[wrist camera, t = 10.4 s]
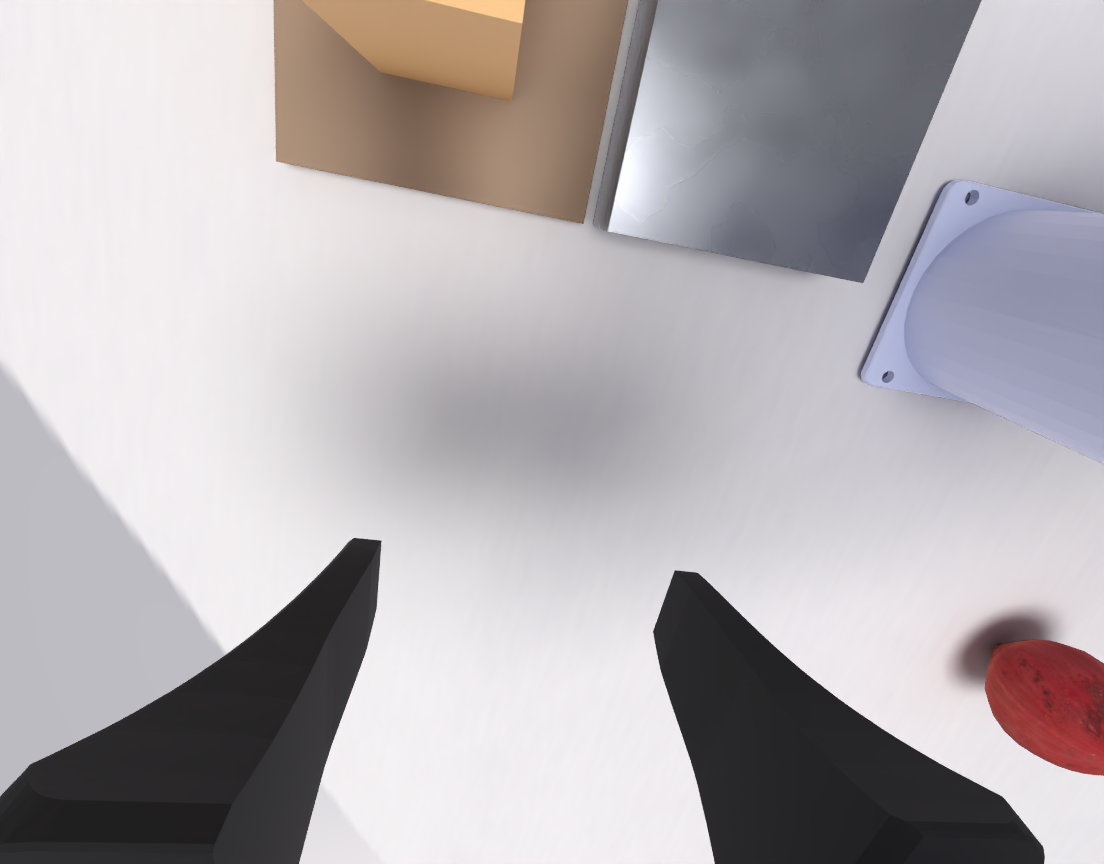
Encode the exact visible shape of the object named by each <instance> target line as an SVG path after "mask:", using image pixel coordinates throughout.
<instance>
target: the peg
mask: <svg viewBox="0 0 1104 864" xmlns="http://www.w3.org/2000/svg"><path fill="white" fill-rule="evenodd" d="M302 1H303V2H304V3H306V4H307V5H308V6H309V7H310V8H311V9H312V10H313V11H314V12H315V13H316V14H318V15H319V16H320V17H321V18H322V19H323V20H324V21H325V22H326V23H327V24H328V25H330V26H331V27H332V28H333V29H334V30H335V31H336V32H337V33H338V34H339V35H340V36H341V37H343V38H344V39H345V40H346V41H347V42H348V43H349V44H350V45H351V46H352V47H353V48H355V49H356V50H357V51H358V52H359V53H360V54H361V55H362V56H363V57H364V58H365V59H367V60H368V61H369V62H370V63H371V64H372V65H373V66H374V67H375V68H376V69H377V70H379V71H380V72H381V73H386V74H390V75H395V76H399V77H404V78H409V79H413V80H418V81H422V82H427V83H431V84H436V85H441V86H445V87H450V88H454V89H459V90H463V91H468V92H472V93H477V94H482V95H486V96H491V97H495V98H500V99H504V100H509V101H512V98H513V90H514V83H515V75H516V68H517V60H518V53H519V45H520V38H521V30H522V23H523V15H524V7H525V0H302Z"/></svg>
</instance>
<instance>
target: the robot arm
mask: <svg viewBox="0 0 1104 864" xmlns="http://www.w3.org/2000/svg"><path fill="white" fill-rule="evenodd" d="M969 192H970V193H971V196H970V200H969V201H968V202H967V203H966V202H965V198H966V195H967V194H968V193H969ZM887 371H888V375H887V376H886V378H884V379H882V376H883V374H884V373H885V372H887ZM861 379H862V380H863V382H865V383H867V384H868V385H871V386H876V387H881V388H887V389H893V390H899V391H905V392H911V393H917V394H923V395H929V396H935V397H941V398H947V399H952V400H958V401H964V402H970V403H973V404H975V405H977V406H979V407H982V408H984V409H986V410H988V411H990V412H992V413H994V414H997V415H999V416H1001V417H1003V418H1005V419H1007V420H1009V421H1012V422H1014V423H1016V424H1018V425H1020V426H1022V427H1024V428H1027V429H1029V430H1031V431H1033V432H1035V433H1037V434H1039V435H1042V436H1044V437H1046V438H1048V439H1050V440H1052V441H1054V442H1057V443H1059V444H1061V445H1063V446H1065V447H1067V448H1069V449H1072V450H1074V451H1076V452H1078V453H1080V454H1082V455H1084V456H1087V457H1089V458H1091V459H1093V460H1095V461H1097V462H1099V463H1102V464H1104V214H1103V213H1099V212H1095V211H1090V210H1086V209H1082V208H1078V207H1074V206H1070V205H1066V204H1062V203H1058V202H1054V201H1050V200H1046V199H1041V198H1037V197H1033V196H1029V195H1025V194H1021V193H1017V192H1013V191H1009V190H1005V189H1001V188H997V187H992V186H988V185H984V184H980V183H976V182H972V181H968V180H954V181H952V182H950V183H948V184H947V185H946V186H945V187H944V189H943V190H942V192H941V194H940V197H939V199H938V201H937V203H936V206H935V208H934V210H933V212H932V215H931V217H930V219H929V221H928V223H927V226H926V228H925V230H924V232H923V235H922V237H921V239H920V241H919V244H918V246H917V248H916V250H915V253H914V255H913V257H912V259H911V262H910V264H909V266H908V268H907V271H906V273H905V275H904V277H903V279H902V282H901V284H900V286H899V288H898V291H897V293H896V295H895V297H894V300H893V302H892V304H891V306H890V309H889V311H888V313H887V315H886V318H885V320H884V322H883V324H882V327H881V329H880V331H879V333H878V335H877V338H876V340H875V342H874V344H873V347H872V349H871V351H870V353H869V356H868V358H867V360H866V362H865V365H864V367H863V369H862V372H861ZM380 554H381V541H379V540H369V539H359V538H354V539H352V540H351V541H349V542H348V543H347V545H346V546H345V547H344V548H343V549H342V550H341V552H340V553H339V554H338V555H337V556H336V557H335V558H334V559H333V561H332V562H331V563H330V564H329V565H328V566H327V567H326V568H325V569H324V570H323V571H322V572H321V573H320V574H319V575H318V576H317V577H316V578H315V579H314V580H313V581H312V582H311V583H310V584H309V585H308V586H307V587H306V588H305V589H304V590H303V591H302V592H301V593H300V594H299V595H298V596H297V597H296V598H295V599H294V600H292V601H291V602H290V603H289V604H288V605H287V606H286V607H285V608H283V609H282V610H281V611H280V612H279V613H278V614H277V615H275V616H274V617H273V618H272V619H271V620H270V621H269V622H267V623H266V624H265V625H264V626H263V627H261V628H260V629H259V630H258V631H256V632H255V633H254V634H253V635H251V636H250V637H249V638H248V639H246V640H245V641H244V642H242V643H241V644H240V645H238V646H237V647H236V648H234V649H233V650H232V651H230V652H229V653H228V654H226V655H225V656H223V657H222V658H221V659H219V660H218V661H216V662H215V663H213V664H212V665H211V666H209V667H208V668H206V669H205V670H203V671H202V672H200V673H199V674H197V675H196V676H194V677H193V678H191V679H190V680H188V681H187V682H185V683H183V684H182V685H180V686H179V687H177V688H175V689H174V690H172V691H171V692H169V693H167V694H165V695H164V696H162V697H160V698H159V699H157V700H155V701H153V702H152V703H150V704H148V705H146V706H145V707H143V708H141V709H140V710H138V711H136V712H135V713H133V714H131V715H129V716H127V717H125V718H123V719H122V720H120V721H118V722H116V723H114V724H112V725H110V726H108V727H107V728H105V729H103V730H101V731H99V732H97V733H95V734H92V735H90V736H88V737H86V738H84V739H82V740H80V741H78V742H76V743H74V744H72V745H70V746H68V747H66V748H64V749H62V750H60V751H58V752H56V753H54V754H52V755H50V756H48V757H45V758H43V759H41V760H39V761H37V762H34V763H32V764H31V765H29V767H28V768H27V769H26V770H25V771H24V772H23V773H22V774H21V776H19V777H18V778H17V780H16V781H15V782H14V783H13V784H12V785H11V786H10V787H9V788H8V789H7V790H6V791H5V792H4V793H3V794H2V795H1V796H0V864H299V861H300V857H301V854H302V850H303V846H304V842H305V838H306V834H307V830H308V827H309V823H310V819H311V815H312V811H313V808H314V804H315V800H316V796H317V793H318V789H319V785H320V782H321V778H322V774H323V771H324V767H325V764H326V761H327V758H328V755H329V752H330V748H331V745H332V743H333V740H334V737H335V734H336V732H337V729H338V726H339V723H340V721H341V718H342V715H343V713H344V710H345V707H346V704H347V702H348V699H349V696H350V694H351V691H352V688H353V685H354V683H355V680H356V677H357V674H358V672H359V669H360V666H361V663H362V661H363V658H364V655H365V652H366V649H367V645H368V641H369V637H370V633H371V629H372V625H373V621H374V617H375V613H376V607H377V594H378V581H379V567H380ZM653 633H654V638H655V644H656V650H657V655H658V660H659V664H660V669H661V673H662V676H663V679H664V682H665V685H666V688H667V691H668V694H669V697H670V701H671V704H672V707H673V709H674V712H675V715H676V718H677V721H678V724H679V727H680V730H681V733H682V736H683V739H684V742H685V745H686V748H687V751H688V754H689V757H690V760H691V763H692V767H693V770H694V773H695V777H696V780H697V784H698V789H699V793H700V797H701V801H702V806H703V810H704V814H705V819H706V823H707V827H708V832H709V837H710V842H711V847H712V851H713V856H714V861H715V864H1044V859H1045V856H1044V849H1043V846H1042V845H1041V844H1040V842H1039V841H1038V840H1037V839H1036V837H1035V836H1034V835H1033V834H1032V832H1031V831H1030V830H1029V829H1028V827H1027V826H1026V825H1025V824H1024V822H1023V821H1022V820H1021V819H1020V817H1019V816H1018V815H1017V814H1016V813H1015V811H1014V810H1013V809H1012V808H1011V806H1010V805H1009V804H1008V803H1007V801H1006V800H1005V799H1004V798H1003V797H1002V796H1000V795H998V794H996V793H994V792H992V791H990V790H988V789H987V788H985V787H983V786H981V785H979V784H977V783H975V782H973V781H971V780H969V779H967V778H966V777H964V776H962V775H960V774H958V773H956V772H954V771H952V770H950V769H948V768H947V767H945V766H943V765H941V764H939V763H938V762H936V761H934V760H932V759H931V758H929V757H927V756H926V755H924V754H922V753H921V752H919V751H917V750H915V749H914V748H912V747H910V746H909V745H907V744H905V743H904V742H902V741H900V740H899V739H897V738H896V737H894V736H892V735H891V734H889V733H888V732H886V731H885V730H883V729H881V728H880V727H879V726H877V725H876V724H874V723H873V722H871V721H870V720H868V719H867V718H865V717H864V716H862V715H861V714H859V713H858V712H856V711H855V710H853V709H852V708H851V707H849V706H848V705H846V704H845V703H844V702H842V701H841V700H839V699H838V698H837V697H835V696H834V695H833V694H832V693H830V692H829V691H828V690H826V689H825V688H824V687H822V686H821V685H820V684H819V683H817V682H816V681H815V680H813V679H812V678H811V677H810V676H808V675H807V674H806V673H805V672H803V671H802V670H801V669H800V668H799V667H797V666H796V665H795V664H794V663H793V662H792V661H791V660H789V659H788V658H787V657H786V656H785V655H784V654H783V653H781V652H780V651H779V650H778V649H777V648H776V647H775V646H774V645H772V644H771V643H770V642H769V641H768V640H767V639H766V638H765V637H764V636H763V635H762V634H761V633H760V632H758V631H757V630H756V629H755V628H754V627H753V626H752V625H751V624H750V623H749V622H748V621H747V620H746V619H745V618H744V617H743V616H742V615H741V614H740V613H739V612H738V611H737V610H736V609H735V608H734V607H733V606H732V605H731V604H730V603H729V602H728V601H727V600H726V599H725V598H724V597H723V596H722V595H721V594H720V593H719V592H718V591H717V590H716V589H714V588H713V587H712V586H711V585H710V584H709V583H708V582H707V581H706V580H705V579H704V578H703V577H702V576H701V575H699V574H698V573H695V572H685V571H674V574H673V577H672V580H671V583H670V586H669V588H668V591H667V594H666V597H665V600H664V602H663V605H662V608H661V611H660V614H659V617H658V619H657V622H656V625H655V628H654V631H653Z"/></svg>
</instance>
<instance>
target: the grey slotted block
mask: <svg viewBox="0 0 1104 864" xmlns="http://www.w3.org/2000/svg"><path fill="white" fill-rule="evenodd" d="M980 2H981V0H640V1H639V5H638V10H637V15H636V20H635V25H634V29H633V34H632V39H631V44H630V49H629V53H628V58H627V63H626V68H625V73H624V77H623V82H622V87H621V92H620V97H619V101H618V106H617V111H616V116H615V121H614V125H613V130H612V135H611V140H610V145H609V149H608V154H607V159H606V164H605V169H604V173H603V178H602V183H601V188H600V193H599V197H598V202H597V207H596V212H595V217H594V221H593V225H595V226H597V227H599V228H601V229H604V230H606V231H608V232H613V233H618V234H623V235H628V236H633V237H638V238H643V239H648V240H653V241H658V242H663V243H668V244H673V245H678V246H683V247H687V248H692V249H697V250H702V251H707V252H712V253H717V254H722V255H727V256H732V257H737V258H742V259H747V260H752V261H757V262H762V263H766V264H771V265H776V266H781V267H786V268H791V269H796V270H801V271H806V272H811V273H816V274H821V275H826V276H831V277H836V278H841V279H846V280H850V281H855V282H860V283H863V282H864V280H865V277H866V275H867V273H868V270H869V268H870V265H871V263H872V261H873V258H874V256H875V253H876V251H877V249H878V246H879V244H880V242H881V239H882V237H883V234H884V232H885V230H886V227H887V225H888V222H889V220H890V218H891V215H892V213H893V210H894V208H895V206H896V203H897V201H898V199H899V196H900V194H901V191H902V189H903V187H904V184H905V182H906V179H907V177H908V175H909V172H910V170H911V167H912V165H913V163H914V160H915V158H916V155H917V153H918V151H919V148H920V146H921V144H922V141H923V139H924V136H925V134H926V132H927V129H928V127H929V124H930V122H931V120H932V117H933V115H934V112H935V110H936V108H937V105H938V103H939V101H940V98H941V96H942V93H943V91H944V89H945V86H946V84H947V81H948V79H949V77H950V74H951V72H952V69H953V67H954V65H955V62H956V60H957V57H958V55H959V53H960V50H961V48H962V46H963V43H964V41H965V38H966V36H967V34H968V31H969V29H970V26H971V24H972V22H973V19H974V17H975V14H976V12H977V10H978V7H979V5H980Z"/></svg>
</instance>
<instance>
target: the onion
mask: <svg viewBox="0 0 1104 864" xmlns="http://www.w3.org/2000/svg"><path fill="white" fill-rule="evenodd" d="M985 691H986V695H987V698H988V702H989V705H990V708H991V710H992V713H993V716H994V717H995V718H996V720H997V721H998V723H999V724H1000V726H1001V727H1002V728H1003V730H1004V731H1005V732H1006V733H1007V734H1008V735H1009V736H1010V737H1011V738H1012V739H1013V740H1014V741H1016V742H1017V743H1018V744H1019V745H1021V746H1022V747H1024V748H1025V749H1027V750H1028V751H1030V752H1031V753H1033V754H1035V755H1037V756H1038V757H1040V758H1042V759H1044V760H1046V761H1048V762H1050V763H1053V764H1055V765H1057V766H1059V767H1062V768H1065V769H1068V770H1071V771H1075V772H1079V773H1084V774H1091V775H1103V776H1104V663H1102V662H1100V661H1099V660H1097V659H1096V658H1094V657H1093V656H1091V655H1090V654H1088V653H1086V652H1085V651H1082V650H1079V649H1076V648H1073V647H1070V646H1067V645H1064V644H1060V643H1057V642H1053V641H1048V640H1025V641H1017V642H1010V643H1003V644H999V645H997V646H995V647H994V648H993V649H992V651H991V655H990V663H989V667H988V671H987V674H986V681H985Z"/></svg>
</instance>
